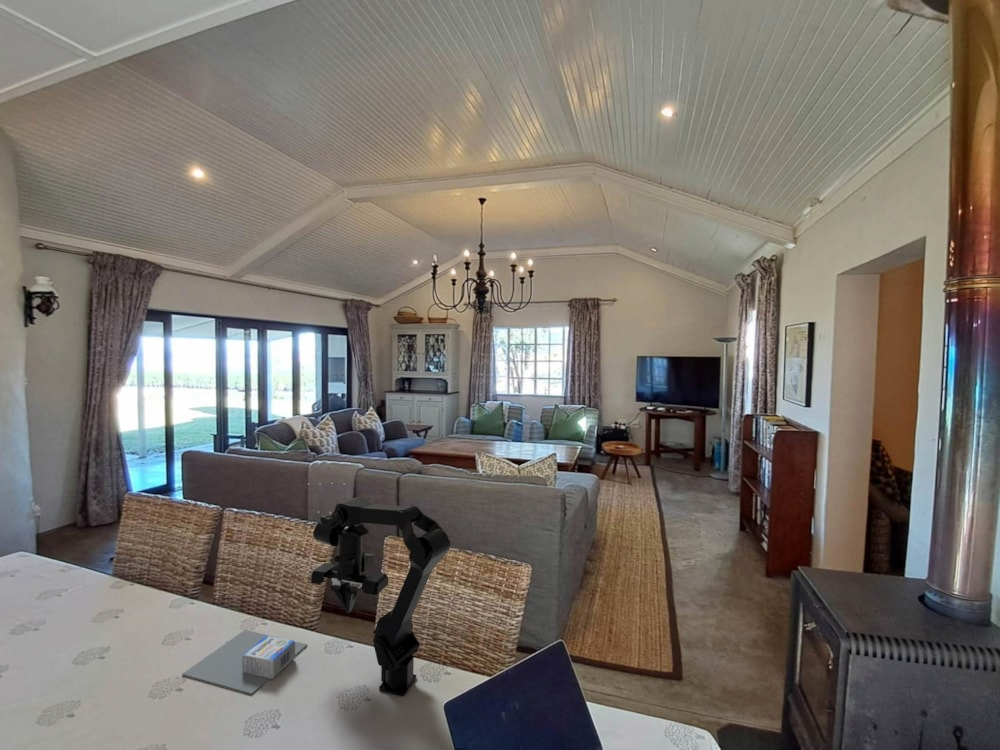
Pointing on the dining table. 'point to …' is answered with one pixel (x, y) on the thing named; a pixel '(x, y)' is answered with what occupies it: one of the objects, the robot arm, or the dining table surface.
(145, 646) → the dining table surface
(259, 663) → the medicine box
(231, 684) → the mat
